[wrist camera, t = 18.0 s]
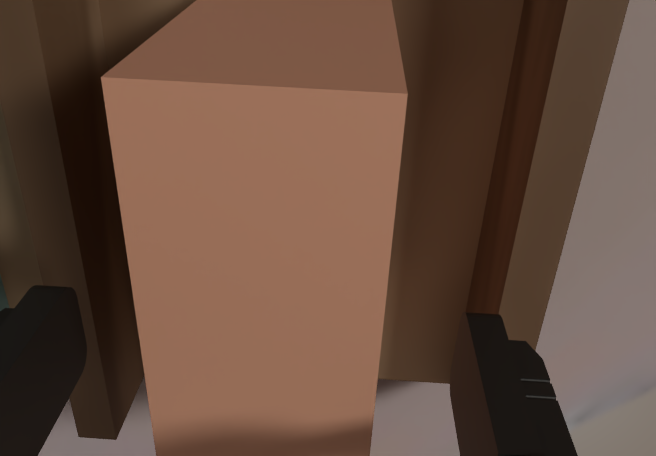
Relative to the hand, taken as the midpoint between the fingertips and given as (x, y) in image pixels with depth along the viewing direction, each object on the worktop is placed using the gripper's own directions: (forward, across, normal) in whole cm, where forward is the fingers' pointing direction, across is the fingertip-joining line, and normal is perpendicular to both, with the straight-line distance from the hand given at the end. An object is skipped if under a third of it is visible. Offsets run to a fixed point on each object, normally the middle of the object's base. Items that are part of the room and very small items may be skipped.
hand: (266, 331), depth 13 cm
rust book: (+7, 0, 0) cm, 7 cm away
